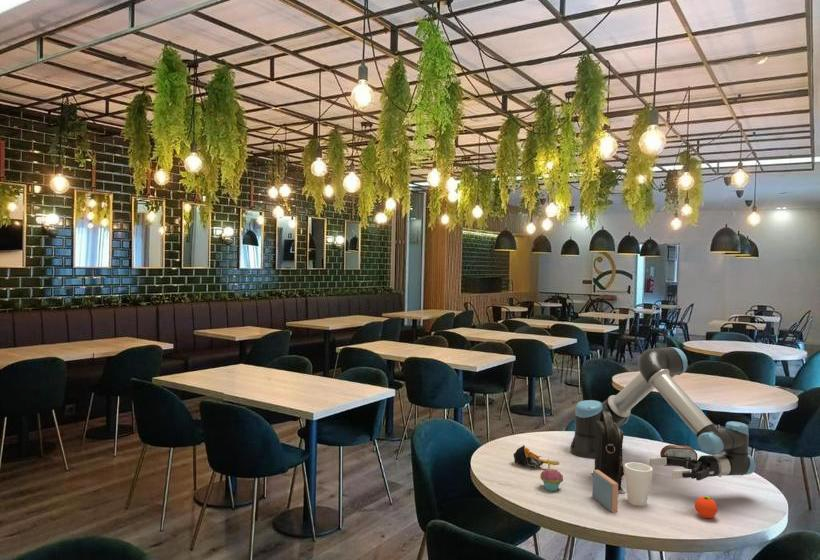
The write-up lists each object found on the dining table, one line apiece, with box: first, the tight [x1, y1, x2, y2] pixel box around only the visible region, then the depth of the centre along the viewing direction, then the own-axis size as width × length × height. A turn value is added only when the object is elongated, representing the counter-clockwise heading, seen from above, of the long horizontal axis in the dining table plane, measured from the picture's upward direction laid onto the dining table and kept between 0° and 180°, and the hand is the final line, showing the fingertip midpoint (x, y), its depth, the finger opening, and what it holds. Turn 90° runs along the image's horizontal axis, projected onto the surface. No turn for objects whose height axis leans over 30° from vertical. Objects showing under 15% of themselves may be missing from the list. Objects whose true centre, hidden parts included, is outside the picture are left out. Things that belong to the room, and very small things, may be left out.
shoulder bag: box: [590, 411, 625, 494], centre depth 227 cm, size 23×9×28 cm, turn 172°
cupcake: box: [539, 458, 564, 492], centre depth 219 cm, size 9×8×12 cm
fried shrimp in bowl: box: [513, 444, 560, 469], centre depth 243 cm, size 9×11×18 cm
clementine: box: [694, 495, 718, 519], centre depth 197 cm, size 8×7×7 cm
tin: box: [659, 444, 699, 467], centre depth 249 cm, size 15×3×8 cm, turn 84°
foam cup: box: [624, 461, 653, 507], centre depth 208 cm, size 10×9×13 cm
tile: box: [591, 469, 619, 513], centre depth 206 cm, size 2×14×10 cm, turn 10°
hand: (661, 468), depth 209 cm, fingers open, 13 cm apart
